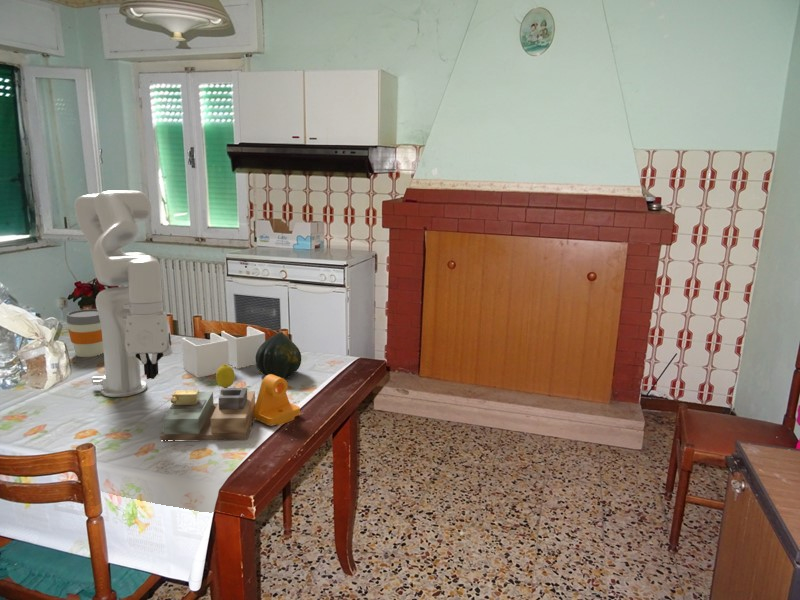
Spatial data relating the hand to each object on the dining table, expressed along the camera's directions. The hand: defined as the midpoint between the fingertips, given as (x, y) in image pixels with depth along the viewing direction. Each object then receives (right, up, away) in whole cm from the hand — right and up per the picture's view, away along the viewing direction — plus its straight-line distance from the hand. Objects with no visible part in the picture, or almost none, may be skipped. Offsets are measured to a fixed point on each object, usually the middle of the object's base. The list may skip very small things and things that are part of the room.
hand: (151, 377), depth 145 cm
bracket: (+31, -13, +10) cm, 35 cm away
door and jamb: (+14, -13, +5) cm, 20 cm away
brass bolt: (+8, -7, +2) cm, 11 cm away
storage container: (+3, -3, +50) cm, 51 cm away
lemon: (+10, -8, +29) cm, 32 cm away
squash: (+24, -5, +43) cm, 49 cm away
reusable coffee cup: (-48, +1, +58) cm, 75 cm away
